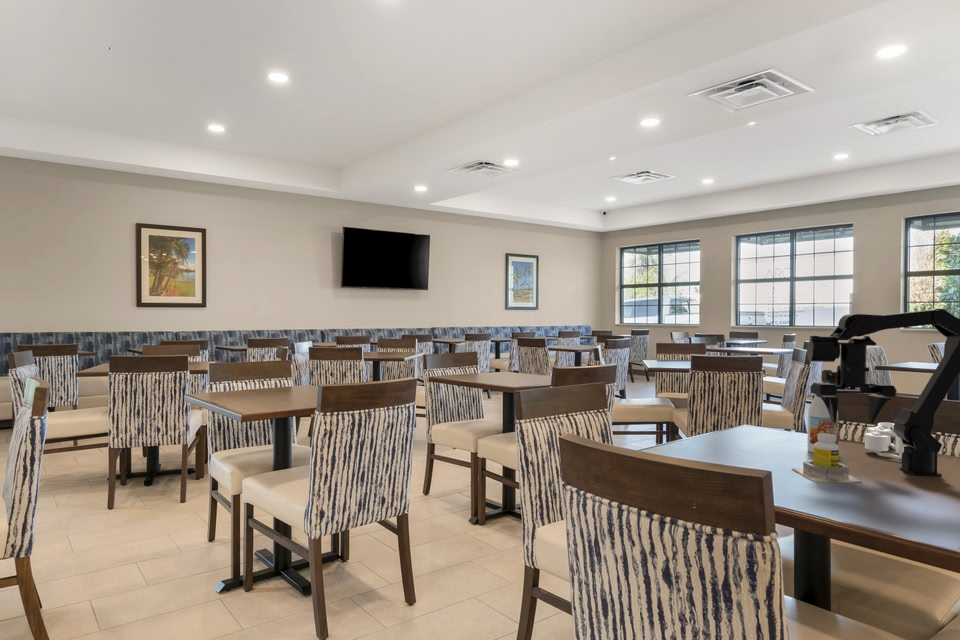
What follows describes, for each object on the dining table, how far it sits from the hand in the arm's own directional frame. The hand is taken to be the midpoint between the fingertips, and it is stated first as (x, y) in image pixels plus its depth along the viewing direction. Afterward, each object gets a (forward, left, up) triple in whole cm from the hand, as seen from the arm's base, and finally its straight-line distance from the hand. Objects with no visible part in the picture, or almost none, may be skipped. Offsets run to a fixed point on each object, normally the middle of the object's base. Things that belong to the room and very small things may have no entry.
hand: (852, 423), depth 156 cm
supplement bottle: (+11, +9, -11) cm, 18 cm away
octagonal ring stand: (+11, +9, -12) cm, 19 cm away
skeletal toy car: (-22, -22, -12) cm, 34 cm away
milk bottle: (-2, -19, -12) cm, 23 cm away
